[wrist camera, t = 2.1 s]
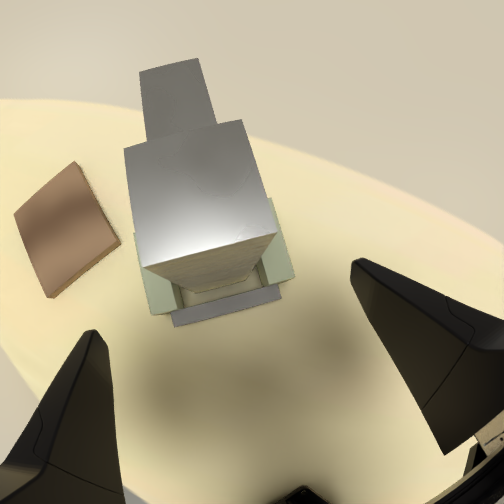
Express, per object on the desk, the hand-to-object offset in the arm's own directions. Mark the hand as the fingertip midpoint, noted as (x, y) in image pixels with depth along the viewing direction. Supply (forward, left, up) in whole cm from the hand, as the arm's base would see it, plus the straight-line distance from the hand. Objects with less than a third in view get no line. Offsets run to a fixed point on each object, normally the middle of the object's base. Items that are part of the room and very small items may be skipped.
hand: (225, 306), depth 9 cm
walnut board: (+12, +6, -10) cm, 17 cm away
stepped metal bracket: (+4, -2, -10) cm, 11 cm away
